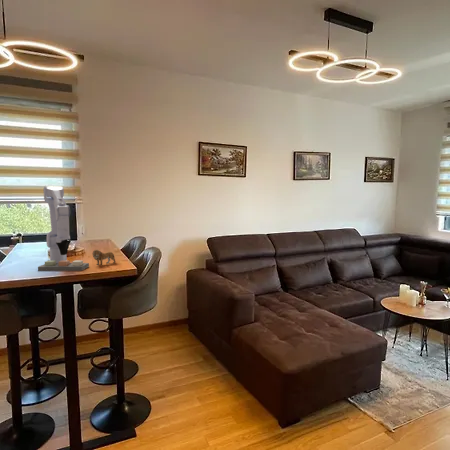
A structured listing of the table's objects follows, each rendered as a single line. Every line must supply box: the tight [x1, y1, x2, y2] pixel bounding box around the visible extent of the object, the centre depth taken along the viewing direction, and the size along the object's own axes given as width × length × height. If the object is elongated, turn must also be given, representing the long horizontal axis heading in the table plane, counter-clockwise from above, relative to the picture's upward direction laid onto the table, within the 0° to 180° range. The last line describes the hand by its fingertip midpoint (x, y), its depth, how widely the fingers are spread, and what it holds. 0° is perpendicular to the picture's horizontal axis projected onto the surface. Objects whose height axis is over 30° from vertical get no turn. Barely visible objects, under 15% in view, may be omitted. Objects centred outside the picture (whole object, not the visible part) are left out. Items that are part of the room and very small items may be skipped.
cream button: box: [71, 259, 84, 266], centre depth 177 cm, size 4×4×3 cm
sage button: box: [44, 259, 56, 266], centre depth 176 cm, size 4×4×3 cm
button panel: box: [37, 262, 90, 272], centre depth 177 cm, size 10×22×2 cm, turn 93°
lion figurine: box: [92, 249, 117, 266], centre depth 189 cm, size 15×5×9 cm, turn 146°
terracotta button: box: [59, 259, 71, 266], centre depth 176 cm, size 4×4×3 cm
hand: (63, 254), depth 176 cm, fingers closed
